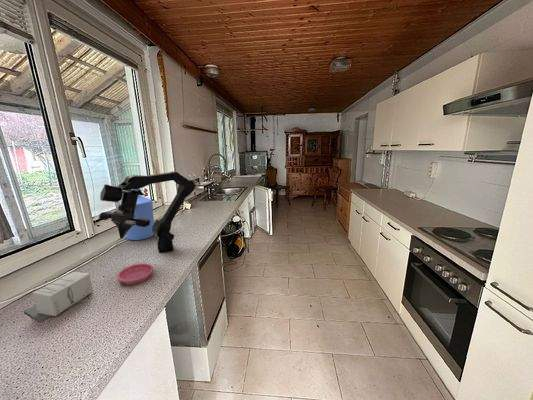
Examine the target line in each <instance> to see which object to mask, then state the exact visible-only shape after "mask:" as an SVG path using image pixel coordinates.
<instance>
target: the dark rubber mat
mask: <svg viewBox="0 0 533 400" xmlns="http://www.w3.org/2000/svg"><path fill="white" fill-rule="evenodd" d="M86 298H87V296H85V297H84V298H82V299H81V300H79V301H78V302H76V303H75V304H77V303H79V302H81V301H83V300H85V299H86ZM75 304H73V305H75ZM73 305H72V306H73ZM23 312H24V313H25V314H27V315H28V316H30V317H31V318H33V319H34V320H36V321H37V322H39V323H42V322H44V321H45V320H47V319H49V318H51V317H52V316H51V315H45V314H40V313H38V312H37V308H36V305H35V304H34V305H33V306H31V307H30V308H27V309H26V310H23Z"/></svg>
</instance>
